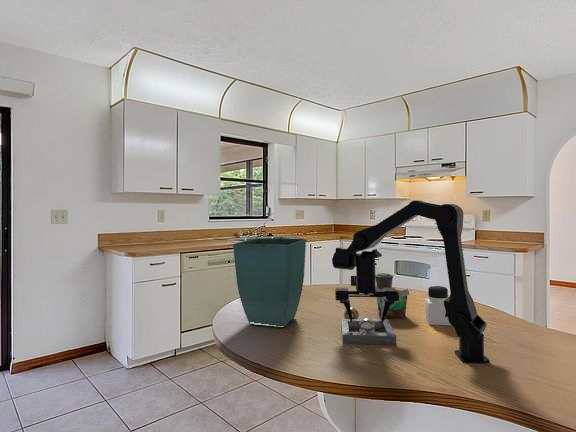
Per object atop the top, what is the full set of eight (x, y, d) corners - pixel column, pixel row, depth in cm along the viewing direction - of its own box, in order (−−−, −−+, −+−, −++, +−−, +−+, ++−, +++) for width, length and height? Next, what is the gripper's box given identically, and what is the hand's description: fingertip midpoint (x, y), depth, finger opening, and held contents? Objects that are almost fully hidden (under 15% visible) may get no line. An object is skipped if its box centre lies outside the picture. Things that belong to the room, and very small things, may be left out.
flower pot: (291, 334, 112) (289, 244, 112) (233, 328, 119) (231, 243, 118) (308, 315, 131) (306, 238, 131) (258, 311, 138) (256, 238, 137)
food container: (370, 317, 128) (370, 289, 128) (375, 312, 134) (374, 285, 133) (406, 321, 122) (406, 292, 122) (409, 316, 128) (409, 288, 128)
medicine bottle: (452, 326, 117) (451, 289, 117) (429, 325, 118) (428, 288, 118) (447, 319, 124) (446, 284, 124) (425, 318, 125) (424, 284, 125)
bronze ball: (359, 324, 120) (359, 309, 120) (344, 324, 121) (344, 309, 120) (358, 320, 125) (358, 305, 125) (343, 319, 125) (343, 305, 125)
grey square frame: (396, 344, 102) (396, 336, 102) (342, 343, 104) (342, 334, 104) (388, 327, 117) (387, 319, 117) (341, 326, 119) (341, 318, 119)
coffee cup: (371, 295, 159) (370, 273, 159) (387, 293, 162) (386, 271, 161) (381, 299, 151) (380, 276, 151) (397, 298, 154) (397, 274, 154)
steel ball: (376, 338, 108) (376, 321, 107) (359, 337, 108) (359, 321, 108) (374, 332, 113) (374, 316, 112) (358, 331, 113) (358, 316, 113)
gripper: (392, 266, 117) (393, 314, 117) (334, 267, 119) (335, 313, 119) (399, 273, 106) (399, 325, 106) (335, 273, 108) (336, 324, 108)
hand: (366, 322), depth 110 cm, fingers open, 9 cm apart
